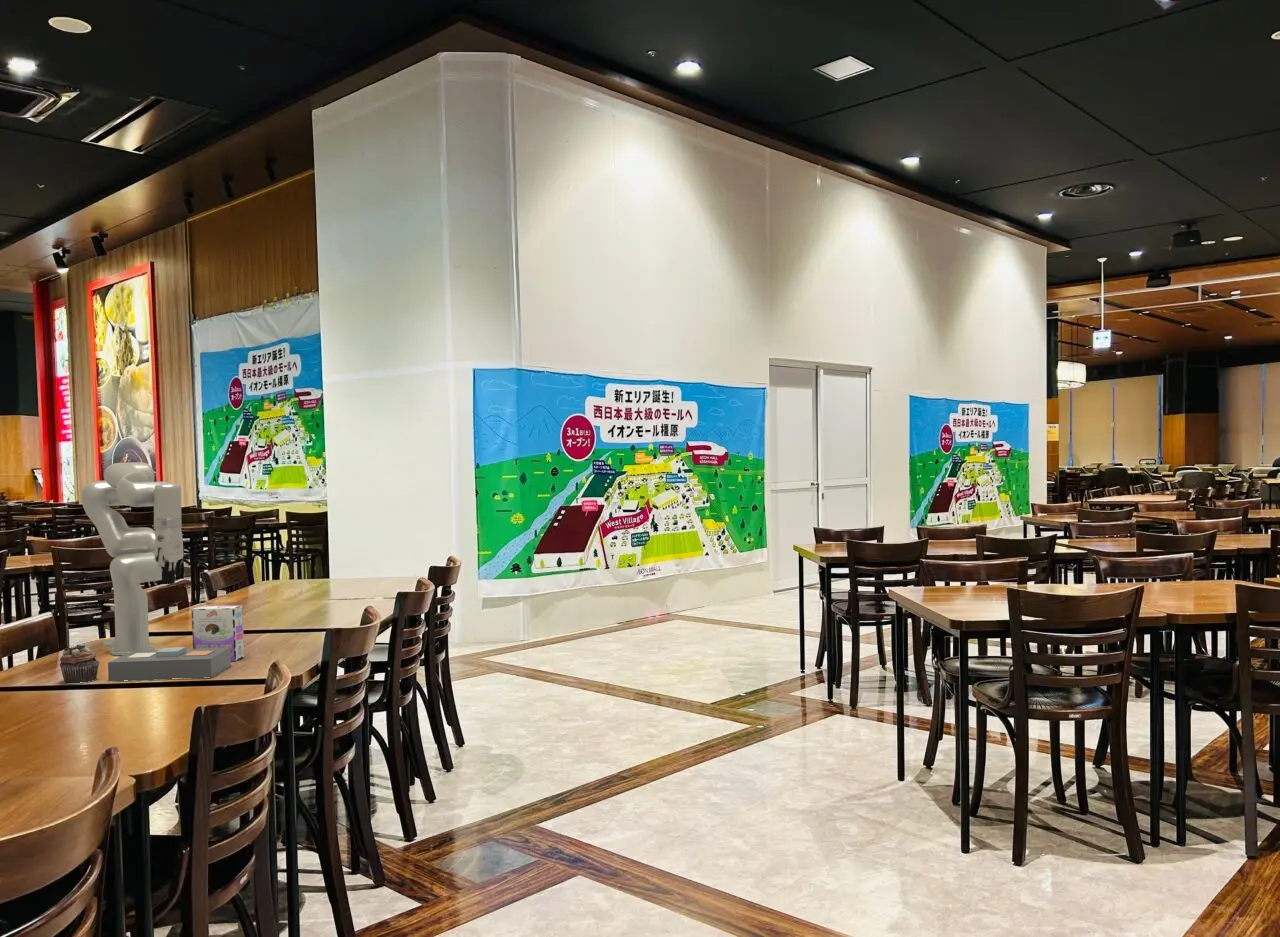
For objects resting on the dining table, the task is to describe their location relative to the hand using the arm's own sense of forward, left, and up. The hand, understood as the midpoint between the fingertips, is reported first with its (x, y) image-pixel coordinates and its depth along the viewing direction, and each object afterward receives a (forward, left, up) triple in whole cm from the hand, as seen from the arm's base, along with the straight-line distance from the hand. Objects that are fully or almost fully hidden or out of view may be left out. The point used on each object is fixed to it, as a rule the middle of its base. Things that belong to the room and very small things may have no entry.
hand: (168, 583), depth 298 cm
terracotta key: (+15, -17, -22) cm, 32 cm away
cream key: (-1, -17, -22) cm, 28 cm away
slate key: (+7, -17, -20) cm, 28 cm away
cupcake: (-16, -22, -24) cm, 37 cm away
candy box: (+14, +1, -24) cm, 28 cm away
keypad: (+7, -17, -24) cm, 30 cm away
